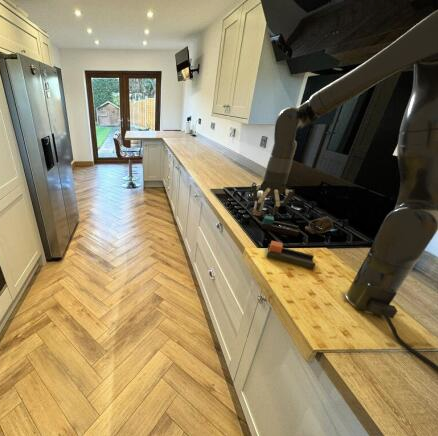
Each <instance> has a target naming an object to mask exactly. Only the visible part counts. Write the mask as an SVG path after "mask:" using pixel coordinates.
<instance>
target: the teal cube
mask: <svg viewBox="0 0 438 436" xmlns="http://www.w3.org/2000/svg"><path fill="white" fill-rule="evenodd" d="M263 219H264V221H263V220H262V221H263V223H265V224H269V225H272V224H273V221H275V217H274V216H271V215H264V218H263Z"/></svg>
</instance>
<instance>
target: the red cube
mask: <svg viewBox="0 0 438 436" xmlns="http://www.w3.org/2000/svg"><path fill="white" fill-rule="evenodd" d="M270 244H271V245H270V248H269V251H271V252H275V253H279V254H281V251H282V248H284V247H283V246H284V243H283V242H280V241H276V240H271V241H270Z"/></svg>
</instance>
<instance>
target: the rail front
mask: <svg viewBox="0 0 438 436" xmlns="http://www.w3.org/2000/svg"><path fill="white" fill-rule="evenodd" d="M270 245H271V243H268V245H267V246H268V247H267V250H266V255H265V256H266V258H268V259H271V260H274V261H278V262H282V263H285V264H289V265H293V266H297V267H300V268H304V269H308V270H311V271H314V269H315V266H316V263H315V262H314V257H315V256H314V255H313V254H310V253H306V252H303V251H298V250H295V249H290V248H287V247H283V248H282V251H281V254H279V253H275V252H271V251H269V248H270Z"/></svg>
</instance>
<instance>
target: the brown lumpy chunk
mask: <svg viewBox="0 0 438 436" xmlns="http://www.w3.org/2000/svg"><path fill="white" fill-rule="evenodd" d="M312 223H313V226H314V228H313V227H312V226H311V224H312ZM315 226H318V227H320V228H322V229H323V230H324V231H323V230H321V229H319V228H316V227H315ZM334 228H335V227H334V222H333V220H332V219H331V218H330V217H328V216H322V217H318V218H315V219H313V220H311V221H309V223H308V225H305V226H304V230H305V231H306V232H307V233H309V234H311V235H315V234H316V233H317V234H324V233H327V232H331V231H332V230H333V229H334ZM330 230H331V231H330Z"/></svg>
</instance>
